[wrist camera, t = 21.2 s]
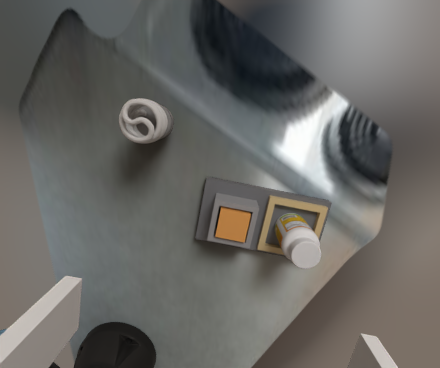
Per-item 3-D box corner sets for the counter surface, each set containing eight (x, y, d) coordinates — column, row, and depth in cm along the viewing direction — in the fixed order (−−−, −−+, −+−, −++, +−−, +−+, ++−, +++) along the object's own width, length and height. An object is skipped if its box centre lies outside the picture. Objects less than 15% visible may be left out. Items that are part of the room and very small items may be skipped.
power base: (196, 235, 46) (191, 249, 41) (207, 176, 44) (203, 183, 38) (310, 257, 46) (321, 275, 41) (328, 200, 44) (341, 210, 39)
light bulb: (185, 118, 42) (168, 116, 30) (166, 146, 43) (142, 154, 31) (157, 96, 41) (128, 85, 30) (138, 125, 42) (103, 125, 31)
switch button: (216, 227, 43) (215, 236, 40) (221, 202, 42) (220, 208, 39) (243, 233, 43) (244, 242, 40) (249, 207, 42) (250, 214, 39)
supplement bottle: (293, 247, 44) (310, 280, 35) (267, 231, 44) (277, 260, 35) (312, 222, 43) (335, 250, 34) (286, 206, 43) (302, 229, 33)
